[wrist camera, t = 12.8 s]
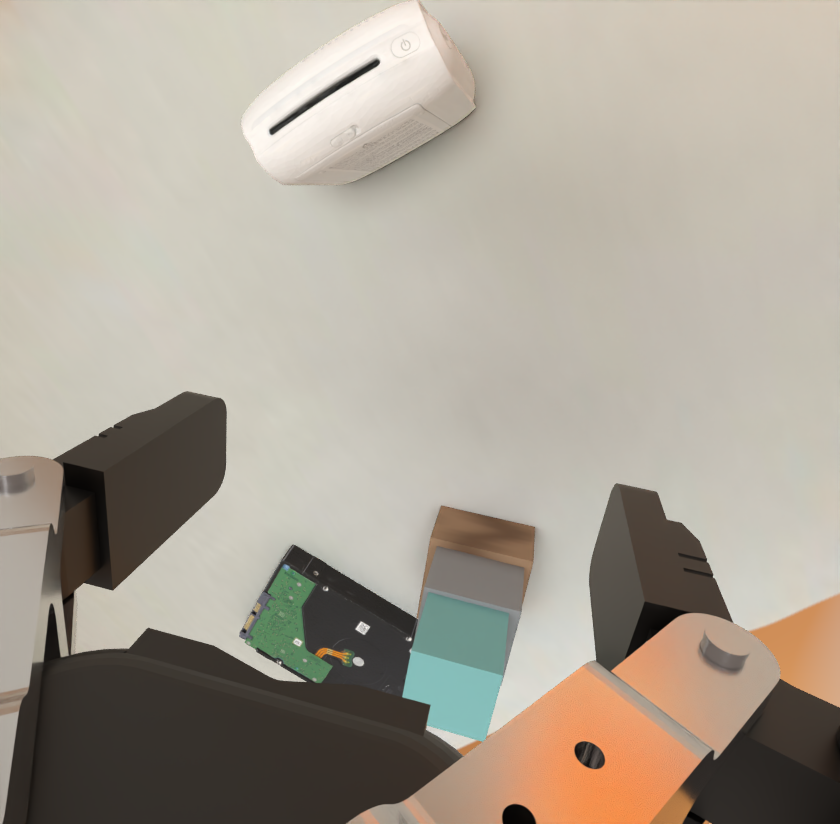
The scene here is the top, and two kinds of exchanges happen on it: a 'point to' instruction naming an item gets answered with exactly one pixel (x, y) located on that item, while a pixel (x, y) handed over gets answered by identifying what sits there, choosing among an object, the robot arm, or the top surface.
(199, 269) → the top surface
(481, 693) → the teal block
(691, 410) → the top surface
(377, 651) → the disk drive
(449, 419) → the top surface
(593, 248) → the top surface
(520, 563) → the walnut base
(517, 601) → the slate block
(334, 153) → the photo printer
